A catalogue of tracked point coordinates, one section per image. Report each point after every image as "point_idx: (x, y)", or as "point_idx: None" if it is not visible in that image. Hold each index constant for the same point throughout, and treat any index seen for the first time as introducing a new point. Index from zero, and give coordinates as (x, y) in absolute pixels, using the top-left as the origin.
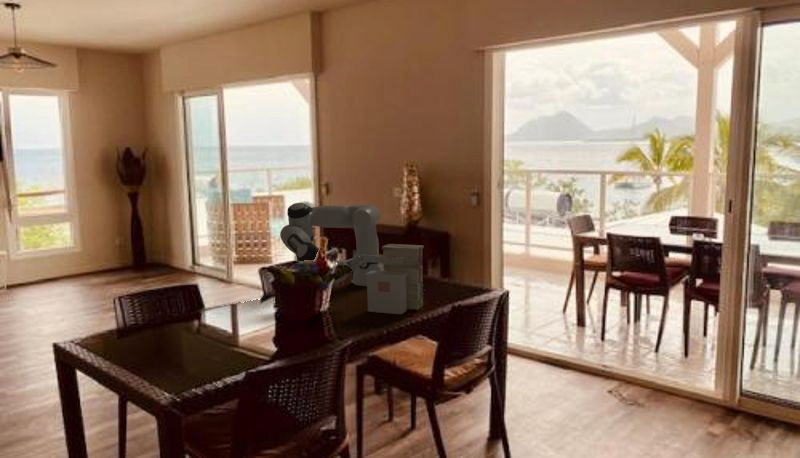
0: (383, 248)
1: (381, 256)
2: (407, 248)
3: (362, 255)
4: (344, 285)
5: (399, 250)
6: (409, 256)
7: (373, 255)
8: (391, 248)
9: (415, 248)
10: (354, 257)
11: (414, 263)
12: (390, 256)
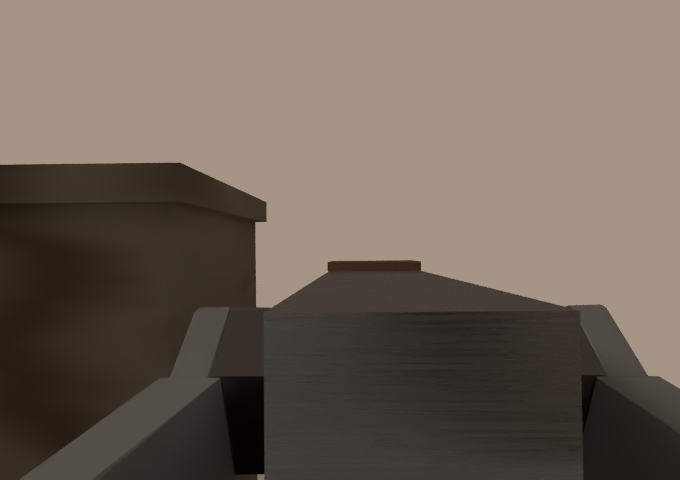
0: (188, 189)
1: (391, 273)
2: (253, 199)
3: (469, 287)
4: None
5: (224, 221)
6: (244, 276)
7: (361, 278)
8: (218, 194)
9: (263, 201)
10: (560, 405)
11: None
12: (390, 261)
